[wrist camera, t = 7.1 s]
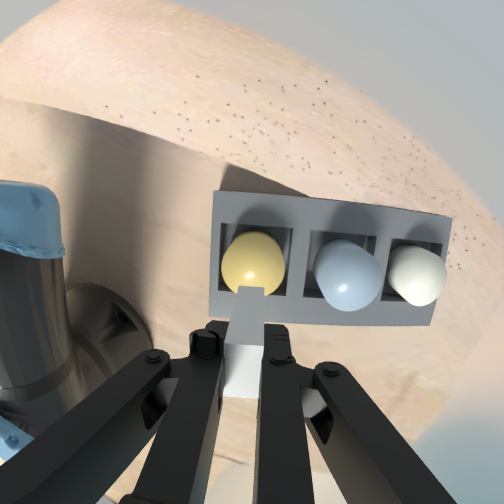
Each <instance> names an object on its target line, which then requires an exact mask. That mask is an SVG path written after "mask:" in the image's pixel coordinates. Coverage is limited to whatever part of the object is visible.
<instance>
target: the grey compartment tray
mask: <svg viewBox="0 0 504 504" xmlns="http://www.w3.org/2000/svg"><path fill="white" fill-rule="evenodd" d="M451 225H452V218H450V217H446V216H442V215H438V214H432V213H426V212H420V211H414V210H407V209H401V208H394V207H387V206H380V205H373V204H365V203H357V202H349V201H341V200H332V199H323V198H314V197H304V196H293V195H282V194H270V193H256V192H242V191H226V190H216V191H214V193H213V211H212V231H211V255H210V287H209V317H219V318H229V319H230V318H231V314H232V310H233V306H234V302H235V298H236V293H235V292H233V291H232V290H231V289H230V288H229V287H228V286H227V284H226V283H225V281H224V278H223V275H222V270H221V265H222V260H223V257H224V254H225V253H226V251H227V249H228V247H229V246H230V244H231V242H232V241H233V239H234V238H235V237H236V236H237V235H238V234H240V233H242V232H243V231H246V230H250V229H259V230H264V231H266V232H268V233H270V234H271V235H272V236H274V237H275V238H276V240H277V241H278V243H279V244H280V247H281V251H282V255H283V259H284V263H285V273H284V277H283V280H282V282H281V284H280V285H279V286H278V288H277V289H276V290H275V291H273V292H272V293H271V294H269V295H267V296H264V321H265V322H279V323H295V324H315V325H342V326H430V322H431V319H432V315H433V312H434V308H435V304H436V301H437V298H436V299H435V300H434V301H433V302H431V303H430V304H428V305H425V306H414V305H412V304H410V303H409V302H408V301H407V300H406V299H404V298H403V297H402V296H401V295H400V294H399V293H398V292H397V291H396V290H394V289H393V288H392V287H391V286H390V285H389V284H388V282H387V280H386V277H385V274H386V269H387V263H388V257H389V255H390V253H391V252H392V251H393V250H394V249H395V248H396V247H398V246H399V245H402V244H406V243H411V244H415V245H417V246H419V247H421V248H423V249H425V250H428V251H430V252H432V253H434V254H436V255H438V256H439V257H440V258H441V259H442V260H443V262H444V264H445V261H446V256H447V250H448V244H449V238H450V232H451ZM336 239H346V240H350V241H352V242H354V243H355V244H357V245H358V246H360V247H361V248H363V249H364V250H365V251H367V252H368V253H370V254H371V255H372V256H373V257H375V259H376V260H377V261H378V263H379V265H380V267H381V271H382V284H381V288H380V290H379V292H378V294H377V296H376V297H375V298H374V300H373V301H372V302H371V303H369V304H368V305H367V306H365V307H363V308H361V309H359V310H356V311H341V310H338V309H336V308H334V307H332V306H331V305H330V304H329V303H328V302H327V301H326V299H325V297H324V295H323V293H322V291H321V289H320V287H319V285H318V283H317V281H316V279H315V277H314V274H313V262H314V258H315V256H316V254H317V252H318V251H319V250H320V248H321V247H323V246H324V245H325V244H326V243H328V242H330V241H333V240H336Z"/></svg>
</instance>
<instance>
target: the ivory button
mask: <svg viewBox="0 0 504 504" xmlns="http://www.w3.org/2000/svg"><path fill="white" fill-rule="evenodd" d="M446 276H447V272H446V266H445V264H444V262H443V260H442V259H441V258H440V257H439V256H438V255H436V254H434V253H432V252H430V251H428V250H425V249H423V248H421V247H419V246H417V245H415V244H411V243H406V244H402V245H399V246H398V247H396V248H395V249H394V250H393V251H392V252H391V253H390V255H389V257H388V263H387V269H386V274H385V277H386V280H387V282H388V284H389V285H390V286H391V287H392V288H393V289H394V290H396V291H397V292H398V293H399V294H400V295H401V296H402V297H403V298H404V299H406V300H407V301H408V302H409V303H410V304H412V305H414V306H425V305H428V304H430V303H431V302H433V301H434V300H435V299H436V298H437V297H438V296H439V295H440V293H441V292H442V290H443V288H444V286H445V282H446Z"/></svg>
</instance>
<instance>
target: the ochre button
mask: <svg viewBox="0 0 504 504" xmlns="http://www.w3.org/2000/svg"><path fill="white" fill-rule="evenodd" d="M221 270H222V275H223V278H224V281H225V283H226V284H227V286H228V287H229V288H230V289H231V290H232V291H233V292H235V293H236V294H237V290H238V286H253V287H264V296H267V295H269V294H271V293H272V292H273V291H275V290H276V289H277V288H278V286H279V285H280V284H281V282H282V280H283V277H284V273H285V263H284V259H283V255H282V251H281V247H280V244H279V243H278V241H277V240H276V238H275V237H274V236H272V235H271V234H270V233H268V232H266V231H264V230H259V229H250V230H246V231H243V232H242V233H240V234H238V235H237V236H236V237H235V238H234V239H233V241H232V242H231V244H230V246H229V247H228V249H227V251H226V253H225V254H224V257H223V260H222V265H221Z"/></svg>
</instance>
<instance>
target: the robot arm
mask: <svg viewBox="0 0 504 504" xmlns="http://www.w3.org/2000/svg"><path fill="white" fill-rule="evenodd" d="M64 254H65V248H64V246H63V244H62V240H61V225H60V207H59V202H58V200H57V198H56V196H55V194H54V193H53V192H52V191H51V190H50V189H49V188H47V187H45V186H42V185H38V184H33V183H26V182H18V181H9V180H0V457H2V458H3V459H4V460H5V461H6V462H5V463H4V464H2V465H1V466H0V504H96V503H97V502H98V501H99V499H100V498H101V497H102V496H103V495H104V494H105V493H106V491H107V490H108V489H109V488H110V487H111V486H112V485H113V483H114V482H115V481H116V480H117V479H118V478H119V476H120V475H121V474H122V473H123V472H124V471H125V469H126V468H127V467H128V466H129V465H130V464H131V462H132V461H133V460H134V459H135V458H136V456H137V455H138V454H139V453H140V452H141V450H142V449H143V448H144V447H145V446H146V444H147V443H148V442H149V441H150V439H151V438H152V437H153V436H154V435H155V433H156V432H157V433H156V436H155V438H154V441H153V443H152V446H151V448H150V451H149V453H148V456H147V458H146V461H145V463H144V466H143V468H142V471H141V473H140V476H139V479H138V481H137V484H136V486H135V489H134V491H133V492H132V493H131V494H126V495H124V496H123V497H122V498H121V500H120V502H119V504H204V500H205V495H206V490H207V484H208V479H209V473H210V468H211V463H212V457H213V452H214V447H215V441H216V436H217V431H218V425H219V420H220V415H221V409H222V404H223V396H230V397H241V398H255V399H258V408H257V418H256V419H257V430H256V449H255V468H254V487H253V503H252V504H315V502H314V493H313V484H312V475H311V467H310V459H309V451H308V443H307V435H306V428H305V423H306V425H307V427H308V429H309V431H310V433H311V435H312V437H313V439H314V440H315V442H316V444H317V446H318V448H319V450H320V452H321V454H322V456H323V458H324V460H325V462H326V464H327V466H328V468H329V470H330V472H331V474H332V475H333V477H334V479H335V481H336V483H337V485H338V487H339V489H340V491H341V493H342V494H343V496H344V498H345V500H346V502H347V504H457V503H456V502H455V501H454V499H453V498H452V497H451V496H450V495H449V493H448V492H447V491H446V490H445V488H444V487H443V486H442V485H441V483H440V482H439V481H438V480H437V479H436V478H435V476H434V475H433V474H432V472H431V471H430V470H429V469H428V468H427V467H426V465H425V464H424V463H423V461H422V460H421V459H420V458H419V457H418V455H417V454H416V453H415V452H414V450H413V449H412V448H411V447H410V446H409V444H408V443H407V442H406V441H405V439H404V438H403V437H402V436H401V435H400V433H399V432H398V431H397V430H396V428H395V427H394V426H393V425H392V423H391V422H390V421H389V420H388V419H387V417H386V416H385V415H384V414H383V412H382V411H381V410H380V409H379V408H378V406H377V405H376V404H375V403H374V401H373V400H372V399H371V398H370V397H369V395H368V394H367V393H366V392H365V390H364V389H363V388H362V387H361V386H360V384H359V383H358V382H357V381H356V379H355V378H354V377H353V376H352V375H351V373H350V372H349V371H348V370H347V368H345V367H344V366H343V365H341V364H339V363H336V362H322V363H319V364H318V365H316V366H315V369H310V368H306V367H303V366H301V365H298V364H297V363H296V360H295V358H294V357H293V356H292V352H291V345H290V339H289V332H288V329H287V328H286V327H285V326H284V325H280V324H264V287H253V286H238V290H237V294H236V298H235V302H234V306H233V310H232V314H231V318H230V322H226V321H215V320H212V321H211V322H209V323H208V324H206V327H205V329H198V330H195V331H193V332H191V334H190V335H189V341H190V354H189V356H188V357H186V358H181V359H170V355H169V354H168V353H167V352H165V351H163V350H159V349H153V345H152V340H151V337H150V334H149V332H148V329H147V327H146V325H145V324H144V322H143V320H142V319H141V317H140V316H139V315H138V313H137V312H136V311H135V310H134V308H133V307H132V306H131V305H130V304H129V303H128V302H127V301H125V300H124V299H123V298H122V297H120V296H119V295H118V294H116V293H114V292H113V291H111V290H109V289H107V288H104V287H102V286H98V285H94V284H82V285H77V286H75V287H73V288H71V289H69V290H68V291H66V292H65V282H64V271H63V256H64Z"/></svg>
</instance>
